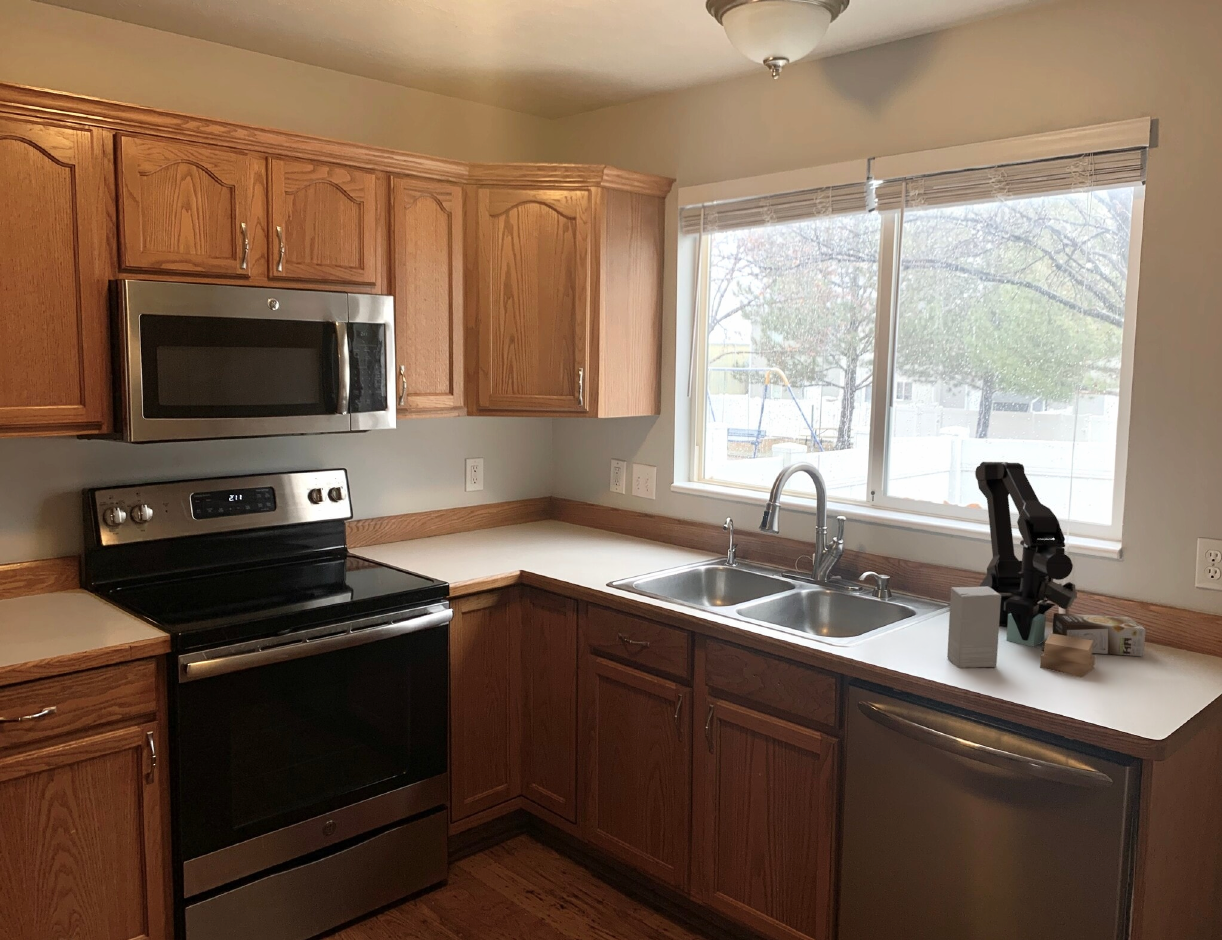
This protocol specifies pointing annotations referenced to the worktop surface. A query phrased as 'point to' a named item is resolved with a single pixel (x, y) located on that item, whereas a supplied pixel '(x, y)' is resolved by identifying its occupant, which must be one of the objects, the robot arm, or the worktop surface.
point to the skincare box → (973, 626)
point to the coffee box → (1103, 632)
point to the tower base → (1067, 666)
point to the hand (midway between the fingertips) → (1030, 637)
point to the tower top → (1068, 648)
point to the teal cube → (1035, 632)
